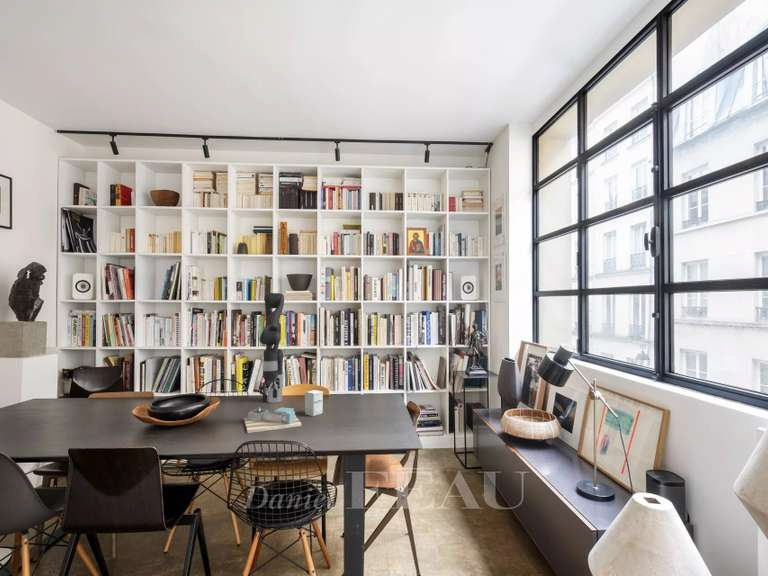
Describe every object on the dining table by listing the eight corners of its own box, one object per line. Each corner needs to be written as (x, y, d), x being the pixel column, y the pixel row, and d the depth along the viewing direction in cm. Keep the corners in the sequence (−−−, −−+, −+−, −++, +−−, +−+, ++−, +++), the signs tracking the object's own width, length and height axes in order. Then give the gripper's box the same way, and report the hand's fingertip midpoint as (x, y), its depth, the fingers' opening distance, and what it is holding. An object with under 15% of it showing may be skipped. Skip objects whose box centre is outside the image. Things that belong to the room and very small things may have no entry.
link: (248, 420, 200) (248, 412, 200) (257, 416, 207) (257, 408, 207) (279, 423, 194) (279, 415, 194) (287, 419, 201) (288, 411, 201)
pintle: (256, 420, 203) (257, 406, 203) (260, 420, 203) (260, 406, 204) (257, 421, 201) (257, 407, 201) (260, 421, 202) (260, 407, 202)
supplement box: (313, 416, 210) (313, 393, 211) (304, 414, 215) (304, 391, 215) (323, 413, 216) (323, 391, 217) (314, 411, 221) (314, 389, 221)
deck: (244, 420, 203) (244, 418, 203) (293, 414, 214) (293, 412, 214) (247, 433, 183) (247, 430, 183) (301, 425, 194) (301, 423, 194)
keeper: (273, 425, 195) (273, 410, 195) (281, 421, 202) (281, 407, 202) (288, 427, 192) (288, 412, 193) (295, 423, 199) (296, 408, 199)
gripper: (272, 366, 209) (272, 396, 209) (255, 371, 196) (255, 402, 195) (284, 367, 207) (283, 397, 206) (268, 371, 193) (267, 403, 193)
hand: (270, 399), depth 201 cm, fingers open, 8 cm apart
